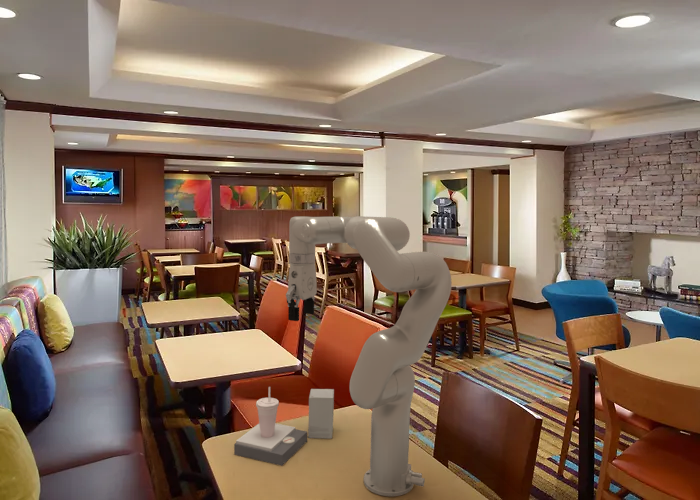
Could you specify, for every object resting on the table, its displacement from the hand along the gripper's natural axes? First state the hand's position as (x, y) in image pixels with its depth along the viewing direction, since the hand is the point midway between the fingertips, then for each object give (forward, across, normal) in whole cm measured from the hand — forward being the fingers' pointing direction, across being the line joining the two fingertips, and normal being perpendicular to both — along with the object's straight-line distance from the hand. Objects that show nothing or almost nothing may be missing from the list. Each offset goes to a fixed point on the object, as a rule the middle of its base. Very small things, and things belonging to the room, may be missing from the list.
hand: (301, 316), depth 149 cm
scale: (+36, -10, +4) cm, 38 cm away
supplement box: (+36, +4, -5) cm, 37 cm away
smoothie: (+33, -10, +5) cm, 35 cm away
